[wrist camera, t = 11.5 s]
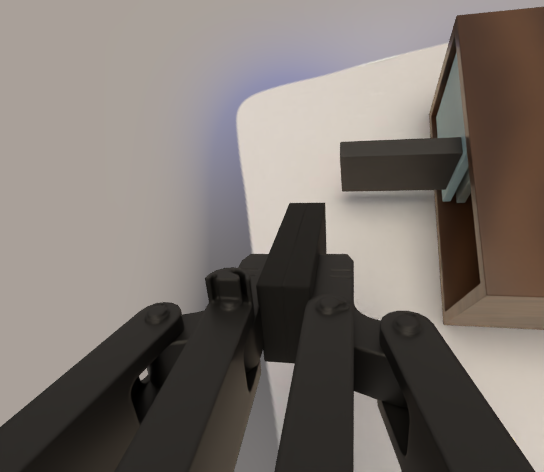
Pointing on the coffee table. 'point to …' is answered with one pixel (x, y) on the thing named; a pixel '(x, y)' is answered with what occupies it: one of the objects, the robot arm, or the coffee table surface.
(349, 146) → the door
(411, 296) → the coffee table surface
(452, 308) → the cabinet
